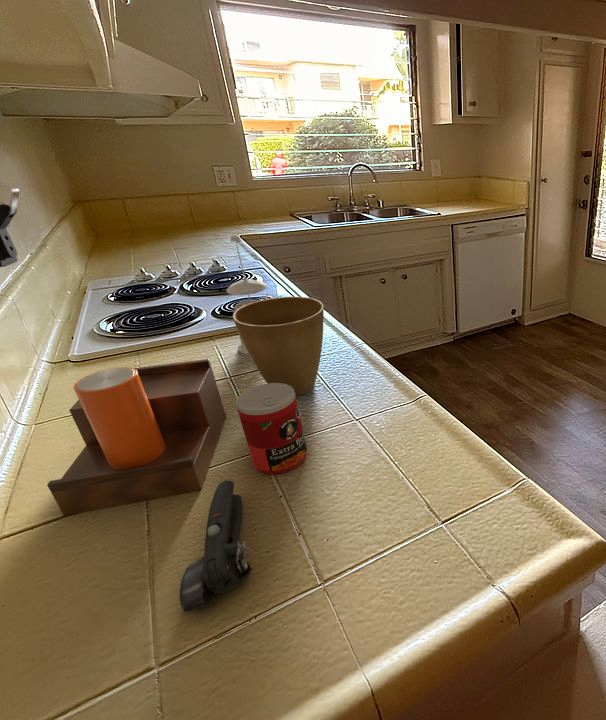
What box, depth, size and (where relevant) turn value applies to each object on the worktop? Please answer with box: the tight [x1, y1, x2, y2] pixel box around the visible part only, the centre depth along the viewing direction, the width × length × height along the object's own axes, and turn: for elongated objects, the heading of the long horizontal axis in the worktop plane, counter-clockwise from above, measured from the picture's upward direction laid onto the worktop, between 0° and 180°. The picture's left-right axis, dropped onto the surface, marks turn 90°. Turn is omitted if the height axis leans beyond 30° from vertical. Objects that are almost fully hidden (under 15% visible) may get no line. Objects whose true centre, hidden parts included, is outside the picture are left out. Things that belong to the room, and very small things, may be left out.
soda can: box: [73, 366, 166, 469], centre depth 62 cm, size 7×7×12 cm
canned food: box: [235, 383, 308, 475], centre depth 67 cm, size 8×8×11 cm
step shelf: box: [46, 358, 227, 516], centre depth 67 cm, size 16×19×11 cm
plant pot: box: [232, 296, 325, 397], centre depth 85 cm, size 15×15×16 cm
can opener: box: [179, 479, 252, 613], centre depth 53 cm, size 18×7×6 cm, turn 20°
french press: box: [225, 234, 276, 355], centre depth 101 cm, size 10×12×25 cm
